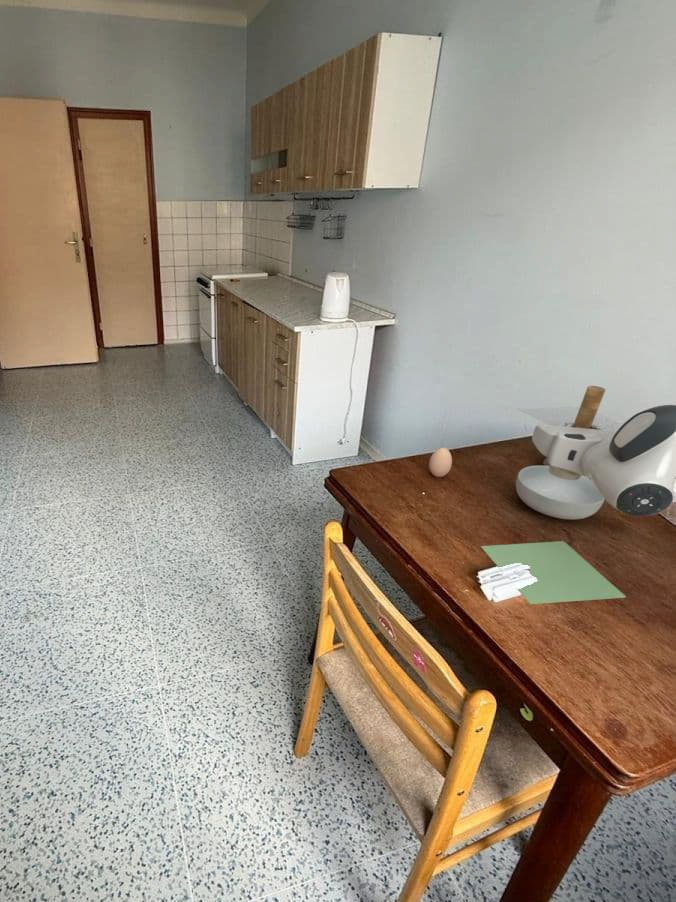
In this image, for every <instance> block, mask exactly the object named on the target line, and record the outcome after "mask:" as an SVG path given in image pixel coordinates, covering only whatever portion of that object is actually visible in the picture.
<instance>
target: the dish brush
mask: <svg viewBox="0 0 676 902" xmlns="http://www.w3.org/2000/svg"><path fill="white" fill-rule="evenodd" d="M605 392H606V388H605V387H601V386H598V385H588V386H587V387H586V390H585V392H584V395H583V398H582V400H581V404H580V406H579V409H578V411H577V414H576V417H575V420H574V422H573V423H574V424H575V425H576V427H575V428H586V429H590V428H591V426H592V425H593V423H594V420H595V419H596V416H597V413H598V410H599V408H600V406H601V404H602V403H601V402H602V400H603V398H604V395H605ZM548 470H549V472H550V473H551V474H552V475H554V476H556V477H558V478H561V479H566V480H578V479H579V478H580V477H581V475H580V474H578V473H575V472H573V471H570V470H566V469H562V468H558V467H554V466H551V465H550V466H549V469H548Z"/></svg>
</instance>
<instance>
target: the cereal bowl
mask: <svg viewBox="0 0 676 902" xmlns="http://www.w3.org/2000/svg"><path fill="white" fill-rule="evenodd" d="M548 469H549V466H546V465H529V466H526V467H524V468H522V469H520V470H519V472H518V474H517V476H516V479H515V490H516V493H517V496H518V497H519V498H520V500H521V501H522V502H523V503H524V504H525V505H526V506H528V507H529V508H530V509H532V510H534V511H536V512H538V513H539V514H543V515H545V516H548V517H551V518H556V519H560V520H572V521H573V520H581V519H583V520H584V519H586V518H589V517H591V516H593V515H595V514H596V513H597V512H598V511H599V510H600V509H601V508H602V506H603V504H604V503H605V501H606V500H605V499H604V498H603V497H602V496H601V495H600V494H599V492H598V491H597V490H596V489H595V487H594V485H593V483H592V481H591V480H589V479H588V478H587V477H586V476H583V475H581V477H580V478H579V479H578V480H566V479H561V478H558V477H556V476H554V475H552V474H551V473H550V472H549V470H548Z"/></svg>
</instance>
